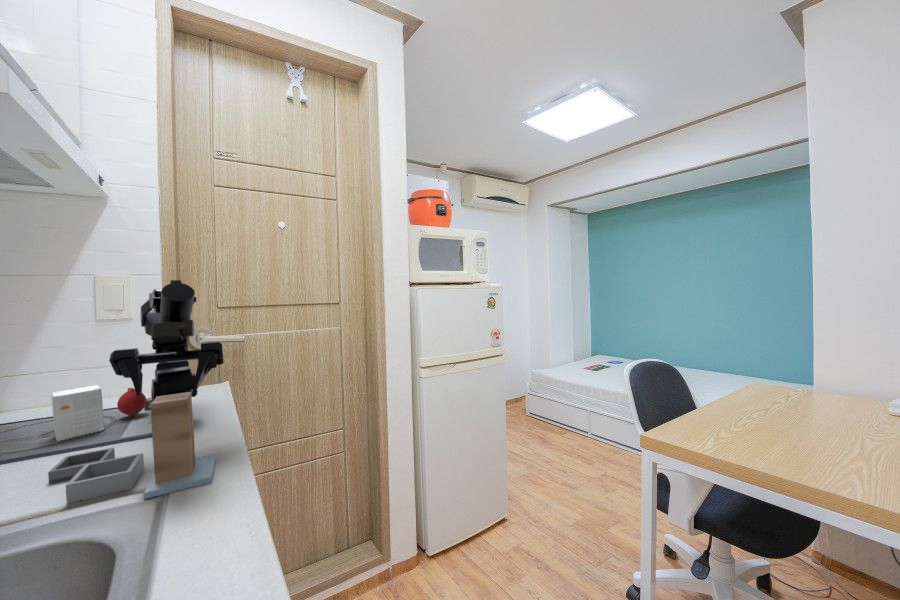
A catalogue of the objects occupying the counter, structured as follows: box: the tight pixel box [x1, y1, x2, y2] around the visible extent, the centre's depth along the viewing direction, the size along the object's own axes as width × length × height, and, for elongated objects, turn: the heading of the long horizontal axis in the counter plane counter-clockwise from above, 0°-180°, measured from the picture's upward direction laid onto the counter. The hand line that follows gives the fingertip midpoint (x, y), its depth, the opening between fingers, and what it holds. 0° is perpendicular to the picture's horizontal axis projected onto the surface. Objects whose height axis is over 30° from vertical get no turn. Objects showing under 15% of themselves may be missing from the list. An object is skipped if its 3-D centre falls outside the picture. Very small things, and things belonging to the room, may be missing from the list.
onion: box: [116, 386, 147, 417], centre depth 96 cm, size 6×6×8 cm
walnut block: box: [150, 392, 196, 484], centre depth 63 cm, size 5×5×14 cm
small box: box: [51, 384, 106, 442], centre depth 85 cm, size 8×6×10 cm
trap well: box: [47, 446, 116, 484], centre depth 67 cm, size 7×7×2 cm
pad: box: [143, 453, 217, 500], centre depth 64 cm, size 10×9×1 cm
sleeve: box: [65, 452, 145, 505], centre depth 62 cm, size 8×8×3 cm
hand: (168, 392), depth 72 cm, fingers open, 9 cm apart
